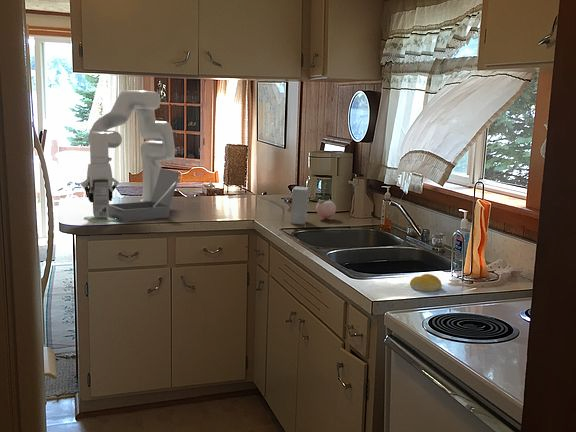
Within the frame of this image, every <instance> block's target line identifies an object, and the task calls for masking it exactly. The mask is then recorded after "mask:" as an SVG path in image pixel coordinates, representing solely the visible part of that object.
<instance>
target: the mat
mask: <svg viewBox="0 0 576 432" xmlns="http://www.w3.org/2000/svg"><path fill="white" fill-rule="evenodd" d="M83 218H84V219H85V220H87V221H90V222H91V223H94V224H101V223H112V222H111V221H113V222H118V221H119V220H118V219H115V218H113V217H110V216H109V217H94V215H93V216H84V217H83Z"/></svg>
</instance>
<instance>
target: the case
mask: <svg viewBox="0 0 576 432" xmlns="http://www.w3.org/2000/svg"><path fill="white" fill-rule="evenodd" d="M180 174H181V172H179V171H174V170H170V169H164V168H161V169H160V172H159V176H158V179H157V183H156V186H155V190H154V193H153V197H152V200H151V201H146V202H140V201H136V202H121V203H109V216H111V217H112V218H116V219H117V220H118V221H120V220H121V221H120V222H125V223H126V222H134V221H147V220H154V219H155V220H157V219H163V218H164V219H166V218H167V219H168V218H170V214H171V213H170V211H171V210H170V207H171V205H172V202H173V198H174V195H175V190H176V189H177V184H180V183H181V182H180V181H181V179H180V178H179V176H180Z"/></svg>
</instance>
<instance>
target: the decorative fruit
mask: <svg viewBox="0 0 576 432" xmlns="http://www.w3.org/2000/svg"><path fill="white" fill-rule="evenodd" d="M315 210H316V213H317V214H318V216H319V217H320V218H323V220H327V219H330V218H331V217H332V216H334V215H335V213H336V211H337V205H336V202H335V201H334V200H331V199H328V197H326V199H325V200H324V199H321V200H318V201H317V204H316V207H315Z"/></svg>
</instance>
